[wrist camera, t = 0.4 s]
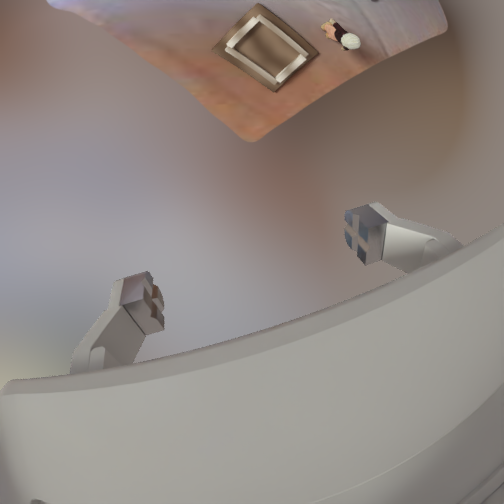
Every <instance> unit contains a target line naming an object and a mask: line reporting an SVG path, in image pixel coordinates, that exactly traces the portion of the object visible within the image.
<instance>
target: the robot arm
mask: <svg viewBox="0 0 504 504" xmlns="http://www.w3.org/2000/svg"><path fill="white" fill-rule="evenodd" d="M345 221H346V222H347V223H348V224H347V226H346V227H345V239H346V242H347V244H348V246H349V247H350V248H351V249H352V250H354V251H357V257H358V258H360V260H361V261H362V262H363V263H364V265H368V264H371V263H374V262H377V261H380V260H382V261H384V262H386V263H388V264H390V265H392V266H394V267H396V268H398V269H400V270H402V271H404V272H406V273H408V274H406V275H404V276H402V277H400V278H398V279H395V280H393V281H391V282H388V283H386V284H384V285H382V286H379V287H377V288H375V289H372V290H370V291H367V292H365V293H363V294H360V295H358V296H355V297H353V298H350V299H348V300H345V301H343V302H340V303H337V304H335V305H332V306H330V307H327V308H324V309H322V310H319V311H316V312H313V313H311V314H308V315H305V316H302V317H299V318H296V319H294V320H291V321H288V322H285V323H282V324H279V325H276V326H273V327H270V328H267V329H264V330H260V331H257V332H254V333H251V334H248V335H244V336H241V337H238V338H235V339H231V340H228V341H224V342H220V343H217V344H213V345H209V346H206V347H202V348H198V349H194V350H191V351H186V352H182V353H179V354H174V355H170V356H166V357H161V358H157V359H152V360H148V361H143V362H138V363H133V361H134V359H135V357H136V355H137V353H138V351H139V349H140V347H141V345H142V343H143V341H144V339H145V337H146V336H145V335H149V334H152V333H155V332H159V331H162V330H164V316H163V314H162V311H163V310H164V301H163V296H162V294H161V292H160V290H159V288H158V286H156V285H154V284H153V277H152V276H151V274H150V273H149V272H148V271H146V272H142V273H139V274H135V275H132V276H129V277H126V278H122V279H119V280H116V281H115V282H114V283H113V287H112V291H111V296H110V301H109V305H108V310H105V311H104V312H103V313H102V314H101V316H100V317H99V318H98V320H97V321H96V322H95V324H94V325H93V326H92V327H91V329H90V330H89V331H88V333H87V334H86V335H85V337H84V338H83V339H82V341H81V342H80V343H79V345H78V346H77V347H76V349H75V350H74V352H73V357H72V362H71V368H70V374H67V375H59V376H52V377H42V378H32V379H15V380H10V381H8V382H7V383H6V385H5V386H4V387H3V388H2V389H1V391H0V504H504V223H502V224H501V225H499V226H498V227H496V228H494V229H493V230H491V231H489V232H488V233H486V234H484V235H482V236H480V237H479V238H477V239H475V240H473V241H472V242H470V243H468V244H466V245H462V244H461V243H460V242H459V241H458V240H457V239H456V238H454V237H453V236H452V235H451V234H450V233H449V232H446V231H443V230H440V229H437V228H434V227H430V226H427V225H424V224H421V223H417V222H414V221H410V220H407V219H403V218H401V219H399V218H397V217H396V216H395V215H394V214H392V213H391V212H390V211H389V210H387V209H386V208H385V207H384V206H382V205H381V204H380V203H378V202H372V203H369V204H366V205H364V206H360V207H357V208H354V209H351V210H347V211H346V212H345Z"/></svg>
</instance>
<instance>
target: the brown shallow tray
mask: <svg viewBox="0 0 504 504" xmlns="http://www.w3.org/2000/svg"><path fill="white" fill-rule="evenodd" d="M212 51H213V52H214V53H216V54H218V55H219V56H221V57H222V58H224V59H226V60H227V61H229V62H230V63H232V64H233V65H235V66H237V67H238V68H240V69H241V70H243V71H244V72H246V73H247V74H248V75H250V76H251V77H253V78H254V79H256V80H257V81H259V82H260V83H261V84H263V85H264V86H265V87H267V88H268V89H270V90H271V91H272V92H275V91H276V90H277V89H278V88H279V87H280V86H281V85H282V84H283V83H284V82H285V81H286V80H288V79H289V78H290V77H291V76H292V75H293V74H294V73H295V72H296V71H298V70H299V69H300V68H301V67H302V66H303V65H304V64H306V63H307V62H308V61H309V60H310V59H311V58H313V57H314V56H315V55H316V54H317V53H318V52H317V51H316V50H315V49H314V48H313V47H311V46H310V45H309V44H308V43H307V42H306V41H305V40H304V39H303V38H302V37H300V36H299V35H298V34H297V33H296V32H295V31H294V30H292V29H291V28H290V27H289V26H288V25H286V24H285V23H284V22H283V21H281V20H280V19H279V18H278V17H276V16H275V15H274V14H272V13H271V12H270V11H269V10H267V9H266V8H264V7H263V6H262V5H260V4H259V3H257V4H256V5H255V6H254V7H253V8H252V9H251V10H249V11H248V12H247V13H246V14H245V15H244V16H243V17H242V18H241V19H240V20H239V21H238V22H237V23H236V24H235V25H234V26H233V27H232V28H231V29H230V30H229V31H228V32H227V33H226V35H225V36H224V37H223V38H222V39H221V40H220V41H219V42H218V43H217V44H216V45H215V47H214V48H213V49H212Z"/></svg>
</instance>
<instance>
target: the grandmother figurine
mask: <svg viewBox="0 0 504 504" xmlns="http://www.w3.org/2000/svg"><path fill="white" fill-rule="evenodd" d="M321 29H322V30H323V31H326V32H327V33H326V37H327V38H329V39H333V40H335V41H338V42H340V43H341V44H342V45H343V47H341V49H342V50H343V51H345V50H349V49H357V48H359V47H360V45H361V43H360V39H359V37H357V36H356V35H354V34H352V33H347V31H345V30H344V29H343V28H342V27H341V26H340V25H339V24H338V23H337V22H335V21H334V20H333V19H330V20H329V22H326V23H324V24H323V25H322V26H321Z"/></svg>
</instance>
